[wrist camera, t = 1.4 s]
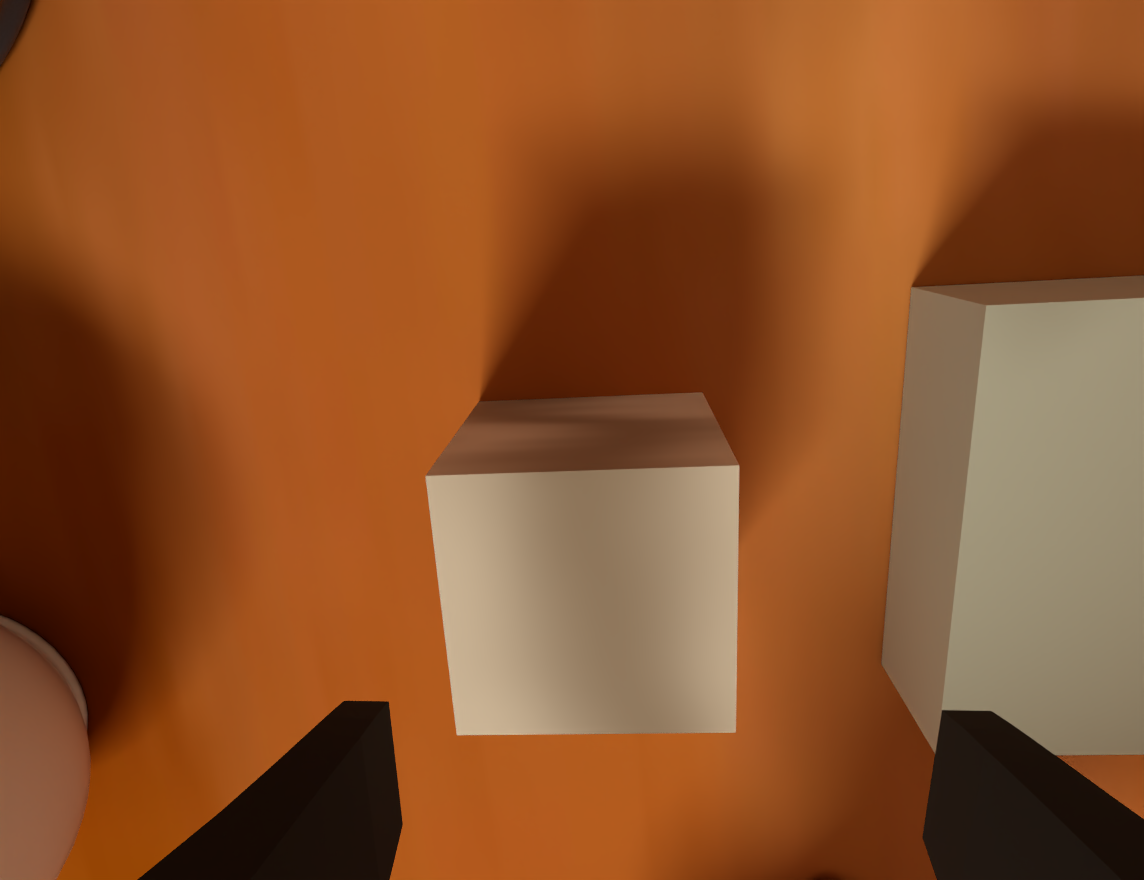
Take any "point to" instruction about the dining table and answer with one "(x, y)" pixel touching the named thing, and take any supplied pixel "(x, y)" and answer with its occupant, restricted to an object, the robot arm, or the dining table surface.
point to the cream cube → (589, 566)
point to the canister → (10, 23)
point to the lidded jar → (39, 755)
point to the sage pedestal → (1022, 511)
